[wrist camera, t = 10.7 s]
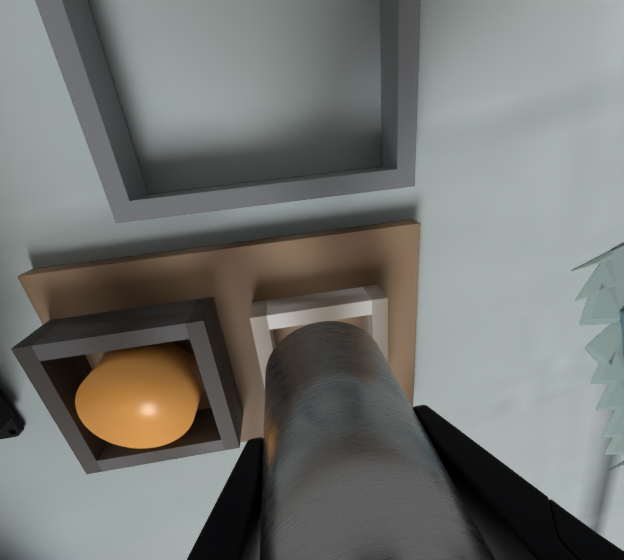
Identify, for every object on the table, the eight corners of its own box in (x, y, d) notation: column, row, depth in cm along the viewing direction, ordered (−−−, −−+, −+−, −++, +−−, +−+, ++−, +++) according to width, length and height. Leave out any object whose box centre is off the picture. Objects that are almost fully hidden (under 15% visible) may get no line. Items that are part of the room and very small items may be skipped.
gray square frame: (136, 213, 18) (116, 222, 16) (10, -163, 12) (-51, -237, 10) (397, 181, 19) (414, 186, 17) (401, -181, 13) (428, -251, 11)
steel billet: (277, 426, 12) (283, 853, 5) (253, 333, 10) (208, 780, 3) (385, 405, 12) (550, 778, 5) (380, 311, 11) (626, 671, 3)
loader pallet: (123, 449, 25) (96, 503, 21) (32, 269, 19) (-31, 299, 15) (407, 401, 27) (429, 443, 23) (412, 219, 20) (444, 235, 16)
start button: (119, 423, 21) (100, 456, 19) (81, 346, 19) (54, 373, 16) (214, 408, 22) (207, 438, 20) (190, 330, 19) (178, 354, 17)
